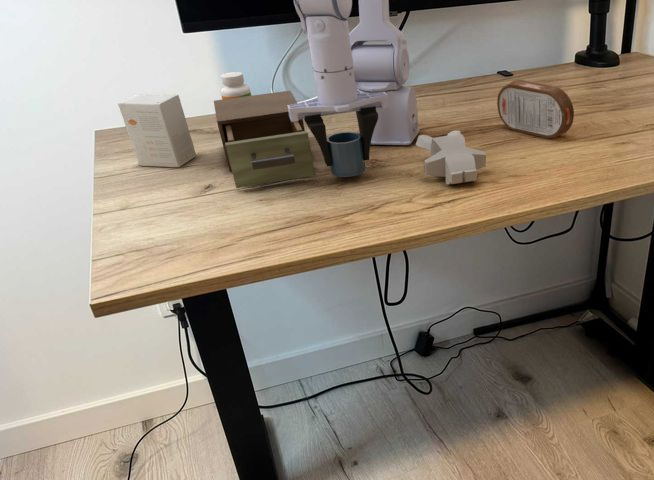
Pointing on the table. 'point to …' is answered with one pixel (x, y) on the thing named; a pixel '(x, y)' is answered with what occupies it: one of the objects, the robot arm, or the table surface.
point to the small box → (157, 130)
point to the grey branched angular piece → (452, 158)
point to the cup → (346, 154)
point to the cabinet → (251, 111)
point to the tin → (535, 108)
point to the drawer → (268, 151)
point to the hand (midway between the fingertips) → (346, 161)
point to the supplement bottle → (234, 86)
